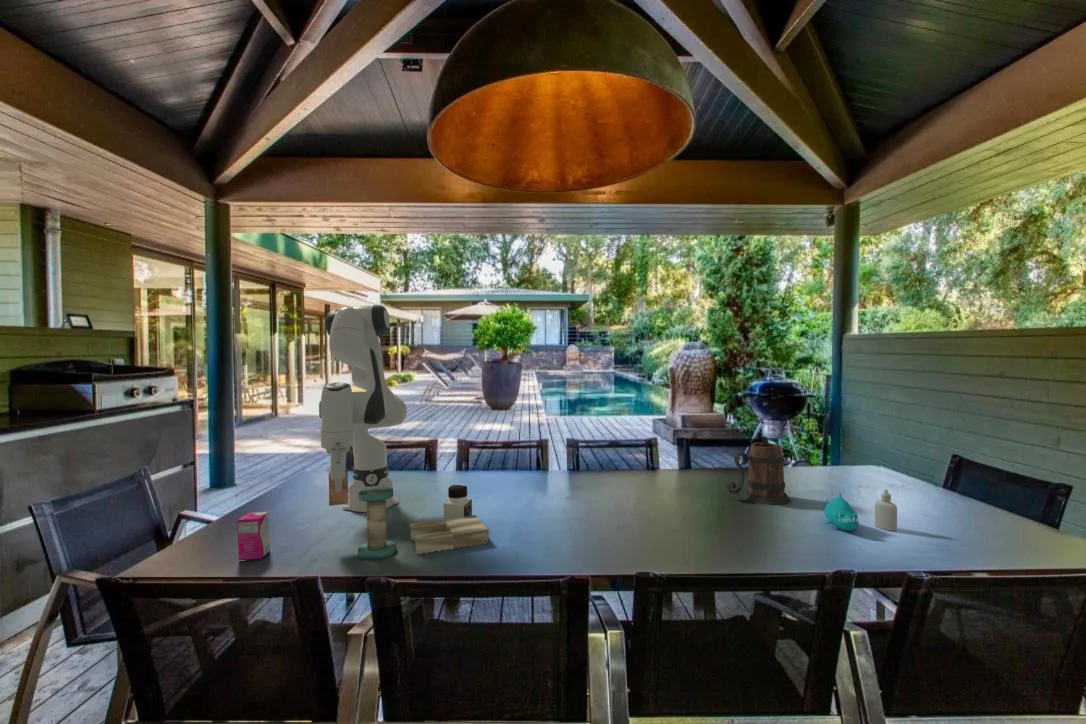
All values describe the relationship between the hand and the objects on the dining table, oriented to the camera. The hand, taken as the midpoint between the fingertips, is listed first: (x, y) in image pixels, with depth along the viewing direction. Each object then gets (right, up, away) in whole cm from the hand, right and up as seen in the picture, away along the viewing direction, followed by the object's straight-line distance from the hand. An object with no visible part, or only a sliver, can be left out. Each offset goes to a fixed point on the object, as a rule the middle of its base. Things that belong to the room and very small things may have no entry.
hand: (338, 487), depth 143 cm
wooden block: (0, -4, 0) cm, 4 cm away
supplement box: (-20, -17, -8) cm, 27 cm away
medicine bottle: (+31, -16, +19) cm, 40 cm away
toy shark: (+151, -15, +13) cm, 153 cm away
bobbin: (+13, -17, -5) cm, 21 cm away
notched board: (+31, -16, +3) cm, 35 cm away
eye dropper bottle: (+164, -15, +11) cm, 165 cm away
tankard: (+138, -15, +42) cm, 145 cm away
